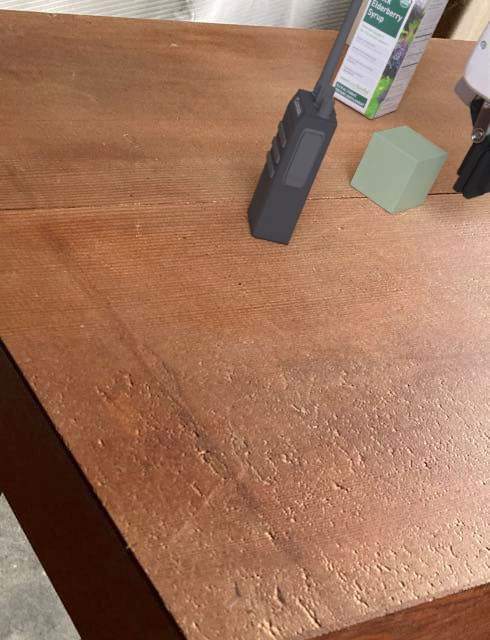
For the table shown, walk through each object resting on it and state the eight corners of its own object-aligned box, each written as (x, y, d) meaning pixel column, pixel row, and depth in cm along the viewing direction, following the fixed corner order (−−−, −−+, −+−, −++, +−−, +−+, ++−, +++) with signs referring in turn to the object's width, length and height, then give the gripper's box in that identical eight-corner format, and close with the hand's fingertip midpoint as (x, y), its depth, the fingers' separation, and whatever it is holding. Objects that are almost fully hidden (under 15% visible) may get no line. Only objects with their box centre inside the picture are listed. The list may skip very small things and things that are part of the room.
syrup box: (325, 95, 102) (390, -59, 91) (354, 86, 105) (418, -62, 95) (370, 121, 100) (441, -32, 89) (397, 111, 103) (468, -37, 93)
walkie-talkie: (243, 208, 81) (346, -58, 66) (282, 217, 81) (392, -45, 67) (248, 238, 77) (357, -34, 63) (288, 248, 78) (406, -20, 64)
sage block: (422, 205, 89) (449, 153, 86) (390, 214, 86) (417, 161, 83) (381, 176, 91) (406, 125, 88) (349, 184, 89) (373, 131, 85)
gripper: (715, 3, 69) (561, 233, 82) (543, -86, 75) (424, 142, 88) (673, 7, 65) (517, 249, 78) (493, -87, 71) (376, 152, 84)
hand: (468, 191), depth 83 cm, fingers closed
